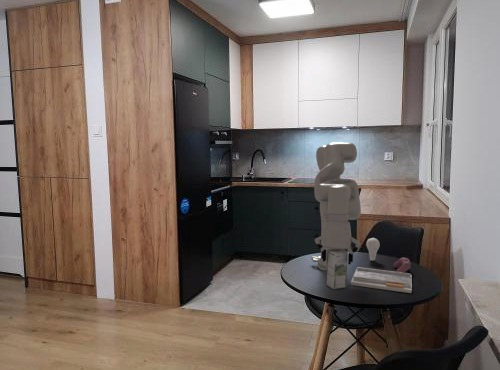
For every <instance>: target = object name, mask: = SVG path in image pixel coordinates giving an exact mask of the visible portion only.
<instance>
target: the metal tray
mask: <svg viewBox="0 0 500 370" xmlns="http://www.w3.org/2000/svg"><path fill="white" fill-rule="evenodd" d="M356 269H357V271H356V270H355V271H356V273H355V272H354V274H355V276H354V275H353V276H352V278H353V280H359V281H366V282H374V283H381V284H386V283H392V284H400V285H403V286H404V287H410V275H411V273H408V272H404V273H403V272H397V271H395V272H394V271H393V270H383V269H377V268H370V267H369V268H368V267H360V266H357V267H356Z"/></svg>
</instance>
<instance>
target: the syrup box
mask: <svg viewBox="0 0 500 370" xmlns="http://www.w3.org/2000/svg"><path fill="white" fill-rule="evenodd" d="M348 254H349V251H346V249H328V250H327V269H326V271H325V272H326V274H325V285H326V286H328V287H329V288H330V289H333V290H339V289H346V288H347V276H348V274H347V273H348Z"/></svg>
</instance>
